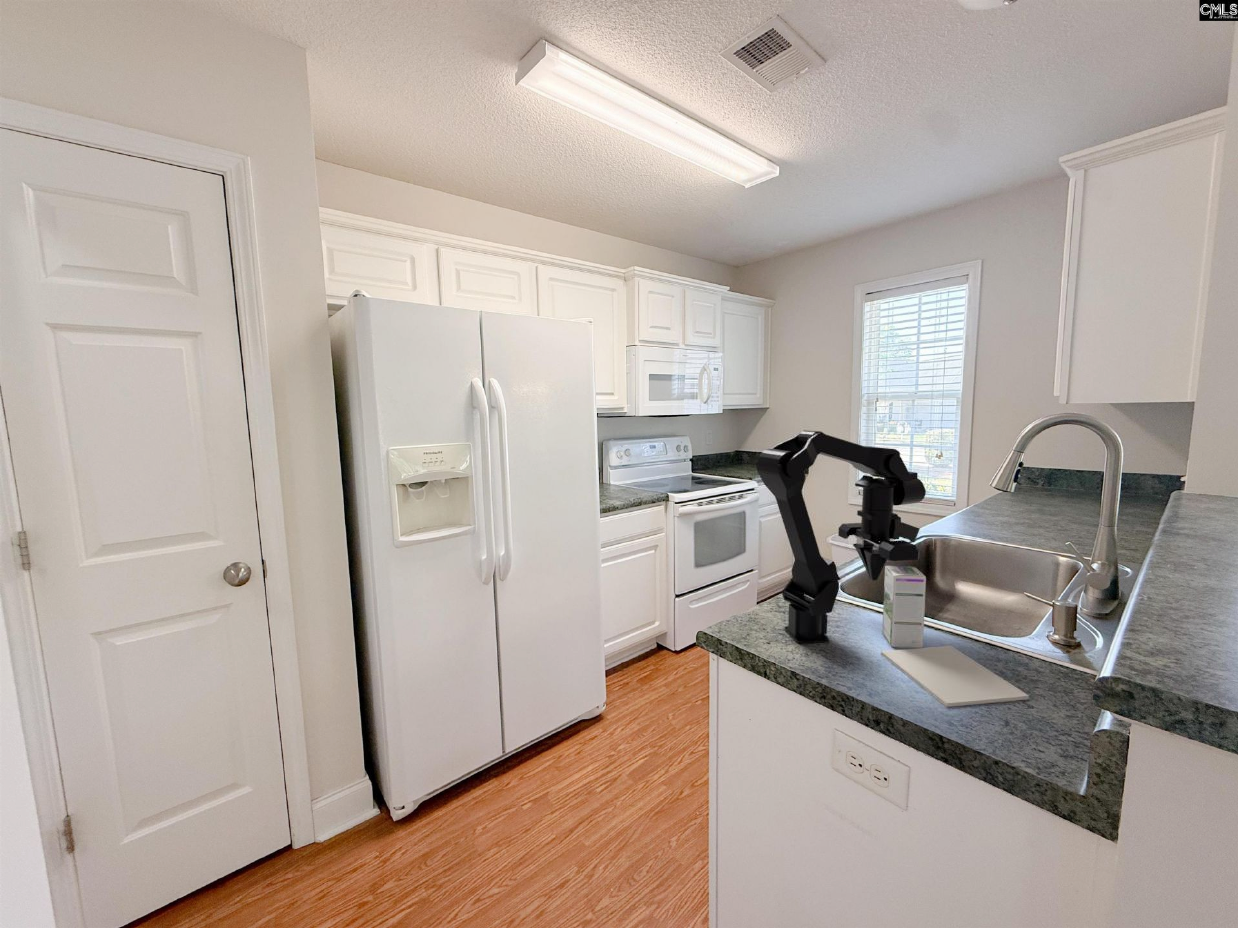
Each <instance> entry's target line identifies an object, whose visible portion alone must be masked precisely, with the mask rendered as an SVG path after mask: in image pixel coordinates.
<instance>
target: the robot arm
mask: <svg viewBox="0 0 1238 928" xmlns="http://www.w3.org/2000/svg"><path fill="white" fill-rule="evenodd" d="M818 455H822V456H825V457H828V458H832V459H836V460H839V461H842V462H846V463H848V464H850V465H852V467H853V468H854V469H856V470H858V471H860V472H862V473H863V474H864V475H862V477H861V478H860V479H859V480H857V481H856V482H855V483H854V485H855V487H858V488H862V499H861V500H862V502H861V503H862V504H861V510H860V509H859V510H857V512H856V515H857V516H859V517H861V520H860V521H861V522H849V523H841V525H840V526H839V527H838V537H840V538H842V539H846V540H847V539H848V538H849V537H850V536H854V537H855V538H856V543H853V544H852V547H854V548H855V550H856V552H857V554H858V555H859V557H860V560H861V562H862V564H863V566H864V569H865V571H866V573H867V575H868V577H869V579H870V580H871V581H873V582H874V581H878V579H879V577H880V576H881V572H882V571H883V568H885V567H884V566H886V565H885V564H886V563H887V561H892V562H901V561H902V562H903V561H916V560H917V561H918V560H919V559H920V548H919V547H918V546H917V545H915V544H914V543H915V541H916V539H917V537H918V535H919V533H920V529H921V528H920V527H917V526H913V525H912V524H908V523H906V522H903V521H902V517H901V516H899V514H897V513H895V512H894V506H905V505H911V504H919V503H921V502H922V501H923V500H924V499H925V497H926V495H927V494H926V493H927V490H926V488H925V484H924V483H923V481H921V479H919V478H918V474H919V473H918V472H915V471H909V470H908V468H907V466H906V464H905V463H904V460H903V458H902V457H901V452H900V451H899V450H898V449H896V448H889V447H880V446H870V445H869V446H866V445H862V444H858V443H855V442H852V441H848V440H846V439H841V438H838V437H836V436H833V435H828V434H826V433H824V432H823V431H817V430H808V429H807V430H806V429H804V430H802V431H800V432H798V433H797V434H796V435H794V436H792V437H790V438H788V439H785V440H784V441H782V442H779V443H777V444H775V445H774V446H772V447H771V448H767V449H764V450H763V451H762V452H761V453H760V454H759V456H758V457H757V460H756V461H755V468H756V471H757V473H758V476H759V477H760V479H761V481H762V482H763V485H765V487H766V488H767V489H768V490H769V491H770V493H771V494H772V495H773V496H774V498H775V500H776V503H777V506H778V510H779V513H780V517H781V519H782V523H783V526H784V529H785V532H786V535H787V539H788V541H789V545H790V548H791V551H792V554H793V558H794V561H793V565H792V567H791V579H790V580H789V581H788V583H787V584H785V585H786V586H784V588H783V589H782V591H781V594H782V598H783V600H784V601H785V602H788V620H787V625H785V626H784V628H783V629H784V630H785V632H787V634H788V635H789V636H790V637H791V638H792V639H793V640H794V641H795V642H796V643H797V644H811V643H823V642H825V643H826V642H829V641H830V638H829V637H828V636H827V633H828V618H829V617H828V616H829V615H828V614H830V613H832V612H833V610H834V606H835V603H836V600H837V598H838V597H837V596H838V593H839V590H840V583H839V581H841V577H840V576H839V574H838V571H837V565H836V563H835V561H833V560H830V559H827V558H826V557H823V556H822V555H821V552H820V548H819V545H818V543H817V538H816V536H815V533H814V529H813V526H812V521H811V518H810V516H809V512H808V510H807V506H806V505H807V504H806V502H805V499H804V496H803V488H804V485H805V482H806V470H808V469H809V468H811V467H812V466H813V465H814V464H815V462H816V459H817V457H818ZM866 474H868V475H866ZM869 474H870V475H869ZM900 538H903V539H905V540H902V539H901V540H900ZM906 540H909V541H910V542H909V541H906Z"/></svg>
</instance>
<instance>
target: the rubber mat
mask: <svg viewBox="0 0 1238 928" xmlns="http://www.w3.org/2000/svg"><path fill="white" fill-rule="evenodd" d="M880 655H881V656H883V658H884V659H886V660H887V661H888V662H890V663H891V665H893V666H895V667H896V668H897V669H898V670H900V671H901V672H902V673H903V674H904V675H906V676H907V677H909V678H910V679H911V680H912V681H913V682H914V683H916V684H917V685H918V686H920V687H921V688H922V689H923V690H924V691H926V692H927V693H928V694H930V695H931V696H932V697H933V698H935V700H937V701H939V702H940V703H941V704H942V705H943V706H944V707H946V708H949V707H950V708H951V707H960V706H970V705H984V704H991V703H1004V702H1012V701H1014V702H1016V701H1024V700H1025V701H1026V700H1029V698H1030V695H1029V694H1027V693H1025V692H1024V691H1022V690H1021V689H1019V688H1018V687H1016V686H1014V685H1013V684H1011V683H1010V682H1008V681H1006V680H1005V679H1003V678H1002V677H1001V676H999V675H997V674H996V673H994V672H992V671H991V670H989V669H988V668H986V667H984V666H983V665H981V664H980V663H978V662H977V661H975V660H973V659H972V658H970V657H969V656H967V655H965V654H964V653H962V652H961V651H959V650H957V649H956V648H955V647H953V646H951V645H945V646H931V647H923V648H917V649H910V648H904V649H897V650H894V649H893V650H882V651H880Z"/></svg>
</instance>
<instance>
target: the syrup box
mask: <svg viewBox="0 0 1238 928" xmlns="http://www.w3.org/2000/svg"><path fill="white" fill-rule="evenodd" d="M884 566H885V567H884V583H883V584H884V586H883V607H882V608H883V610H882V612H883V613H882V635H883V637H884V638H885V640H886V641H887V642H888V644H889V646H890V647H892V648H899V649H900V648H901V649H917V648H924V647H923V645H924V635H925V634H924V629H925V627H924V626H925V608H926V586H927V584H926V583H927V577H926V575H925V574H923V573H922V572H921V571H920V570H919V569H918V568H917V567H915V566H910V565H902V564H901V565H897V564H895V565H884Z"/></svg>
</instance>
